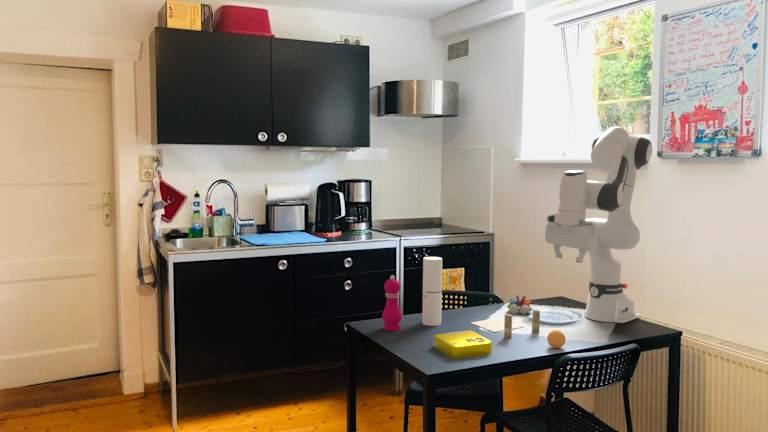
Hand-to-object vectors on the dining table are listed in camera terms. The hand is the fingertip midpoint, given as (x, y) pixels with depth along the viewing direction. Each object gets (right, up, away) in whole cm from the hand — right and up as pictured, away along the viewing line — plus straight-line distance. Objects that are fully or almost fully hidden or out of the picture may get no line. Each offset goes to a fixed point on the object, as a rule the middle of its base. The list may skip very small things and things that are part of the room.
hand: (568, 260), depth 223 cm
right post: (-7, -27, +20) cm, 34 cm away
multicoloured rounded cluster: (-7, -25, +47) cm, 54 cm away
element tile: (-36, -30, 0) cm, 47 cm away
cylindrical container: (-44, -26, +31) cm, 59 cm away
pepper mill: (-59, -27, +23) cm, 69 cm away
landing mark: (-19, -26, +29) cm, 43 cm away
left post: (-18, -28, +13) cm, 36 cm away
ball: (-4, -27, +2) cm, 27 cm away
